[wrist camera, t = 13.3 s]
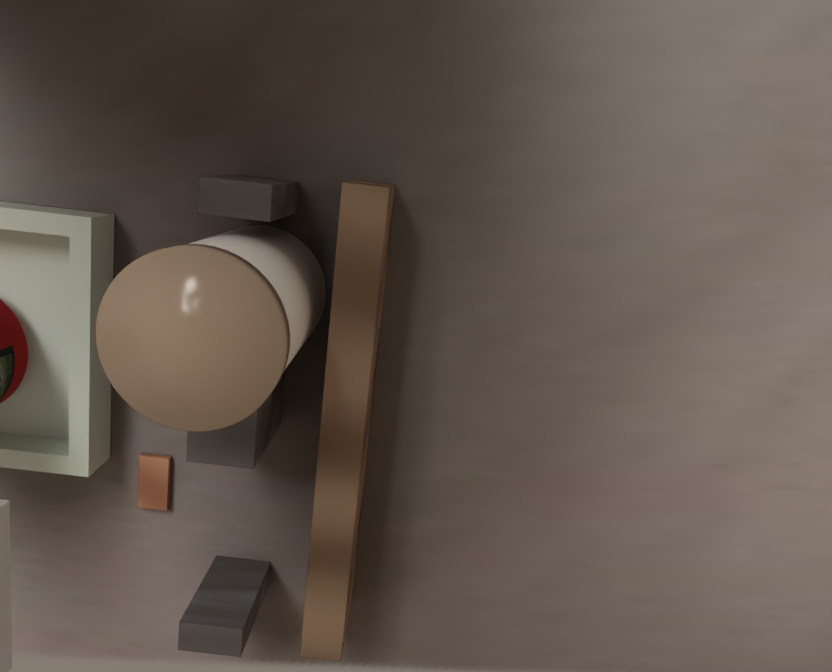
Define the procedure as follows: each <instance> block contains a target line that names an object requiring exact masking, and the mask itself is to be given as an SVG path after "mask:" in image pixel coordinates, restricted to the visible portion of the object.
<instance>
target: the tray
mask: <svg viewBox="0 0 832 672" xmlns="http://www.w3.org/2000/svg"><path fill="white" fill-rule="evenodd" d="M113 265H114V214H107V213H99V212H90V211H82V210H73V209H64V208H56V207H47V206H39V205H30V204H22V203H13V202H4V201H0V299H1V300H2V301H3V302H4V303H5V304H6V305H7V306H8V307H9V308H10V309H11V310H12V312H13V313H14V314H15V316H16V317H17V319H18V320H19V322H20V324H21V326H22V328H23V331H24V334H25V337H26V340H27V346H28V364H27V369H26V372H25V375H24V378H23V380H22V382H21V384H20V385H19V387H18V388H17V389H16V391H15V392H14V393H13V394H12V395H11V396H10V397H9V398H7V399H6V400H5V401H3V402H2V403H0V467H4V468H12V469H21V470H30V471H39V472H47V473H56V474H65V475H73V476H82V477H89V476H90V475H91V474H93V473H94V472H95V471H96V470H97V469H98V468H99V467H100V466H101V465H103V464H104V463H105V462H106V461H107V460H108V459H109V458H110V429H111V382H110V381H109V379H108V378H107V375H106V373H105V371H104V369H103V367H102V364H101V361H100V358H99V355H98V349H97V344H96V321H97V315H98V311H99V307H100V304H101V301H102V299H103V296H104V294H105V292H106V290H107V289H108V287H109V285H110V284H111V283H112V281H113Z"/></svg>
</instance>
